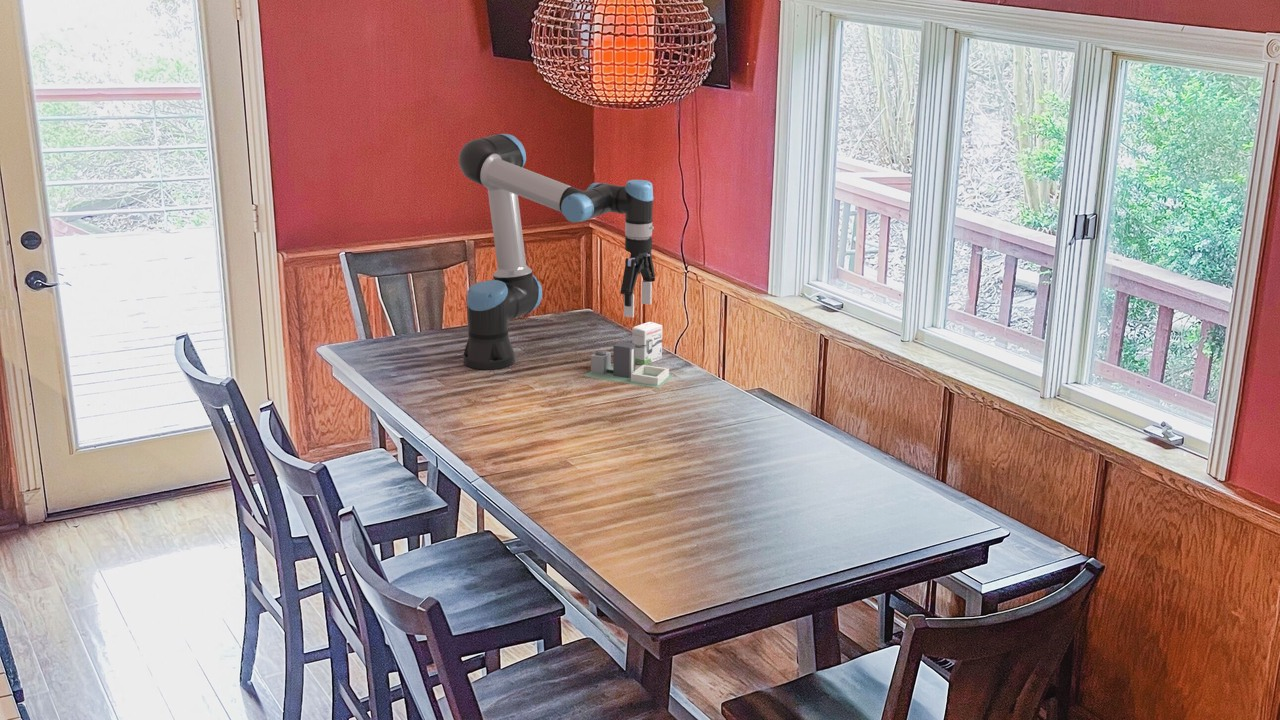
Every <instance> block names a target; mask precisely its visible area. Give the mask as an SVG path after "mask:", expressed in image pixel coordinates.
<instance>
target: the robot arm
mask: <svg viewBox="0 0 1280 720" xmlns="http://www.w3.org/2000/svg"><path fill="white" fill-rule="evenodd" d="M526 153H527V152H526V149H525V147H524V145H523V143H522V142H521V141H520V140H519V139H518V138H517V137H516V136H514V135H512V134H510V133H509V134H508V133H497V134H493V135H489V136H484V137H480V138H476V139H475V138H474V139H472V140H470V141H468V142H467V143H465V144H464V145H463V147H462V148H461V150H460V152H459V154H458V166H459V168H460V171H461V172H462V174H463V175H464V176H465V177H466V178H467V179H469V180H470V181H472V182H474V183H476V184H479V185H481V186H483V187H485V188H486V189H487V195H488V196H487V197H488V204H489V211H490V219H491V227H492V232H493V233H492V234H493V240H494V241H493V242H494V243H493V244H494V249H495V258H496V265H497V269H496V270H495V272H494V273H493V279H487V280H485V281H483V280H481V281H478V282H476V283H474V284H472V285H471V286H470V287H469V288H468V290H467V296H466V297H467V298H466V309H467V330H468V332H467V334H468V337H467V340H466V344H465V348H464V352H463V355H462V359H463V360H462V361H463V364H464V365H465V366H466V367H469V368H470V369H471V368H472V369H477V370H489V371H490V370H499V369H504V368H507V367H510V366H513V364H514V363H515V362H516V357H515V356H516V355H515V351H514V349H513V345H512V341H511V339H510V337H509V322H510V321H513V320H515V319H517V318H520V317H523V316H526V315H528V314H530V313H531V312H533V311H535V310H537V308H538V307H539V305H540V304H541V302H542V298H543V288H542V287H543V286H542V285H541V284H542V283H541V282H540V281H539V280H537V279H538V278H537V277H536V276H535V275H534V273H533V269H531V267H529V265H527V260H526V253H525V243H524V235H523V228H522V219H521V209H520V202H519V196H520V197H521V198H524V199H527V200H529V201H532V202H535V203H538V204H540V205H543V206H544V207H547V208H550V209H552V210H554V211H557V212H560V213H561V214H562V215H563V217H565V219H566V220H567V221H569V222H570V223H580V222H581V223H582V222H585V221H588V220H589V219H592V218H595V217H599V216H601V215H603V214H607V213H614V214H615V213H616V214H622V215H623V214H624V216H625V217H624V218H625V219H624V220H625V224H624V228H625V229H624V235H625V239H624V241H625V242H624V249H625V250H626V252H627V253H629V254H630V257H629V258H628V257H625V261H624V262H625V265H624V271H623V276H622V281H621V288H620V292H619V293H620V295H623V317H627V318H633V319H634V317H635V294H634V289H635V287H636V282H637V279H638V276H639V274H641V277H642V279H643V280H642V281H641V305H642V304H643V305H652V292H653V291H652V288H653V287H652V283H653V282H655V281H656V275H655V274H656V273H655V269H654V262H653V258H652V250H653V237H652V236H653V230H654V229H655V227H654V226H653V213H654V212H653V208H654V207H653V206H654V191H653V189H654V187H653V183H652V182H651V181H649V180H646V179H645V180H644V179H631V180H627V182H626V183H625V186H623V185H616V184H610V183H605V182H593V183H591V184H590V185H589V186H588V187H587V189H586V190H581V189H579V188H578V187H577V188H576V187H573V186H571V185H569V184H566V183H563V182H562V181H559V180H555V179H554V178H550V177H548V176H545V175H543V174H541V173H537V172H534V171H532V170H530V169H527V168H524V165H525V164H526V161H527V154H526Z"/></svg>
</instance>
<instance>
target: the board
mask: <svg viewBox="0 0 1280 720" xmlns="http://www.w3.org/2000/svg"><path fill="white" fill-rule="evenodd" d="M637 369H638V368H635V370H637ZM610 370H613V364H611V369H610ZM643 375H647V376H654V377H657V376H658V375H653V374H646V373H644V374H643ZM673 376H674V374H673V373H669V376H668V377H667V378H666V379H665V380H664V381H662V382H661V383H660V384H659V385H658V386H657V385H651V384H644V383H638V382H632V381H631V377H630V378H626V377H620V376H613V373H610V372H606V373H604V374H601V373H594V372H591V370H590V371H588V372H587V373H586V374H584V375H583V377H586V378H592V379H598V380H605V381H612V382H617V383H618V382H619V383H624V384H630V385H635V386H642V387H648V388H655V389H659V388H661V386H663V385H664V384H665V383H666V382H668V381H669V380H670V379H671V378H672V377H673Z"/></svg>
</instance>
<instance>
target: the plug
mask: <svg viewBox="0 0 1280 720" xmlns="http://www.w3.org/2000/svg"><path fill="white" fill-rule="evenodd" d="M612 348H613V353H612V354H613V361H612V365H613V376H620V377H626V378H630V377H631V374H632V373H633V372H634V371H635V369H636V363H635V344H633V343H632V342H625V341H618V342H616V343H615V344H614V345H613V347H612Z"/></svg>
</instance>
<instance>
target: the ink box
mask: <svg viewBox="0 0 1280 720" xmlns="http://www.w3.org/2000/svg"><path fill="white" fill-rule="evenodd" d="M631 331H632V335H631V337H632V341H631V343H633V344H635V364H637V365H641V366H642V365H649V364H651V363H653V362H656V361H658V360H662V358H663V357H662V356H663V355H662V354H663V324H659V323H656V322H653V321H647V322H645V323H641V324H638V325H635V326H633V327H632V330H631Z"/></svg>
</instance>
